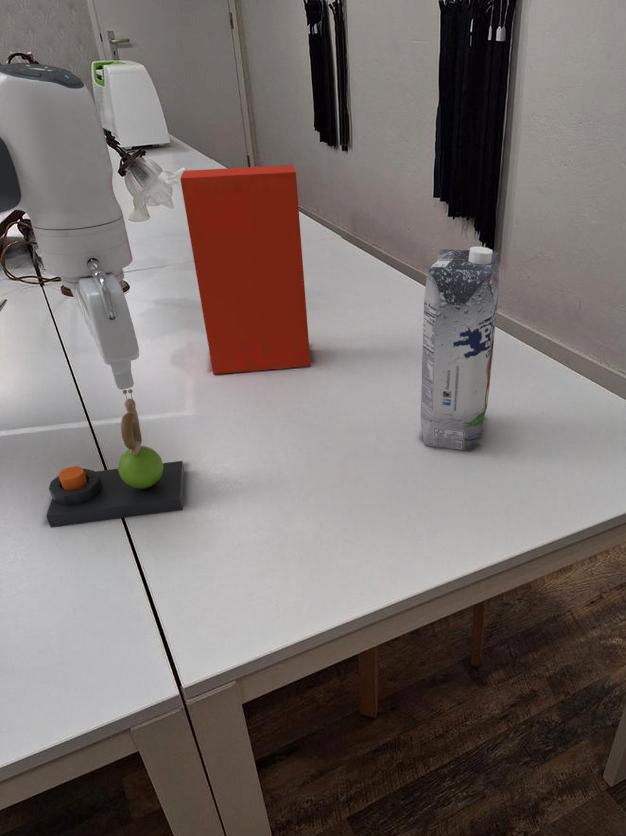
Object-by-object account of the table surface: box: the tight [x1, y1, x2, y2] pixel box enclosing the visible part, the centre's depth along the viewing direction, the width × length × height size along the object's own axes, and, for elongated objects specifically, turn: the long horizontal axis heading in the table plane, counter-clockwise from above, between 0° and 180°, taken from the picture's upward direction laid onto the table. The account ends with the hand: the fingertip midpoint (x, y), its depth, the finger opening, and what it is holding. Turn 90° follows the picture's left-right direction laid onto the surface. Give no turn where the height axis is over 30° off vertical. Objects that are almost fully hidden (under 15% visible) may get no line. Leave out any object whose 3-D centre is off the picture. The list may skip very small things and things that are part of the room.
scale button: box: [58, 465, 87, 490], centre depth 82 cm, size 3×3×2 cm
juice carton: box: [420, 246, 500, 452], centre depth 89 cm, size 9×10×27 cm
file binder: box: [179, 164, 312, 375], centre depth 110 cm, size 8×17×32 cm, turn 99°
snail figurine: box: [117, 388, 164, 489], centre depth 81 cm, size 5×6×12 cm
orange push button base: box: [46, 460, 186, 529], centre depth 84 cm, size 16×9×4 cm, turn 101°
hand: (117, 370), depth 76 cm, fingers open, 8 cm apart
